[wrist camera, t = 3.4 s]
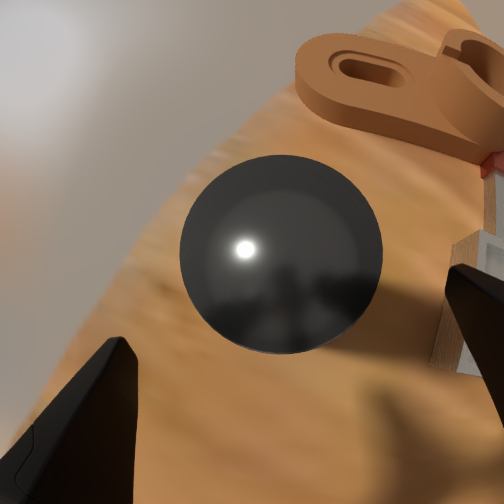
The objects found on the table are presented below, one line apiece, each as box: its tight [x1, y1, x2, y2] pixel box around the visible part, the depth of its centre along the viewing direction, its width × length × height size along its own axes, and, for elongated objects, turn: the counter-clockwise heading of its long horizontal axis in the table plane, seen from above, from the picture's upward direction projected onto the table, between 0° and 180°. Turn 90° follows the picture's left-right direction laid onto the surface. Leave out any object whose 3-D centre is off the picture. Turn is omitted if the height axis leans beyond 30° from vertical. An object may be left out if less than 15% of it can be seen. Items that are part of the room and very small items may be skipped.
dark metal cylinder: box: [180, 155, 383, 354], centre depth 12 cm, size 4×4×11 cm
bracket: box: [295, 29, 504, 165], centre depth 17 cm, size 18×8×7 cm, turn 77°
